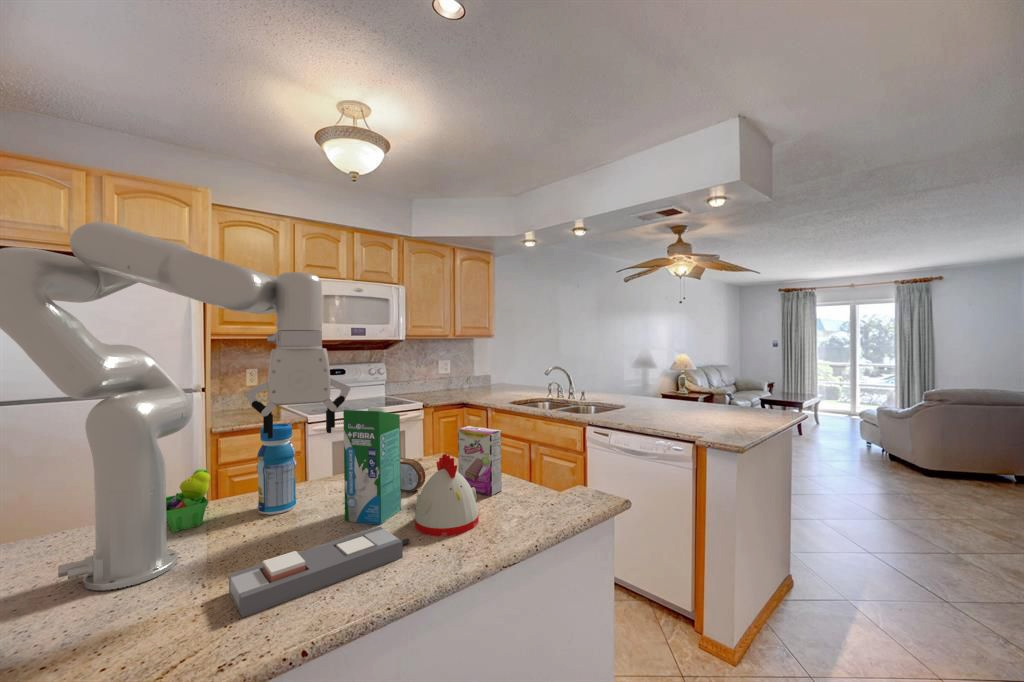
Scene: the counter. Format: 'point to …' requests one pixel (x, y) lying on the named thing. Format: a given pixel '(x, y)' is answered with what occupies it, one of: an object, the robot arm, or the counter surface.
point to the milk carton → (371, 465)
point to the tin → (411, 475)
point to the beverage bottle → (276, 471)
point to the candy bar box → (480, 458)
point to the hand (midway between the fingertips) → (300, 434)
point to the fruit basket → (188, 502)
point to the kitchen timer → (446, 502)
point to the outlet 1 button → (283, 566)
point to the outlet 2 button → (354, 546)
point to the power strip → (312, 571)
